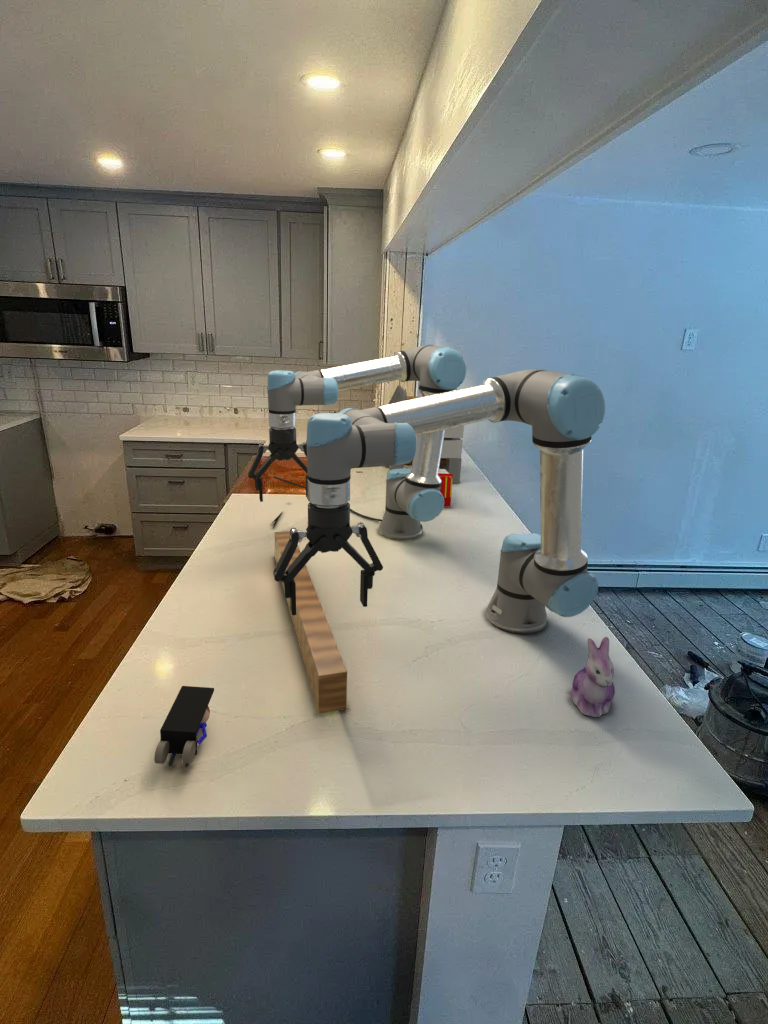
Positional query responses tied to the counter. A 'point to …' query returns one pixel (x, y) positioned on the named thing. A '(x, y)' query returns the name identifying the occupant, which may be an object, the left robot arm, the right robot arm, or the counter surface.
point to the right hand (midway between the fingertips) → (328, 607)
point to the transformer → (450, 443)
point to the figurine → (594, 681)
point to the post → (315, 639)
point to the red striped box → (446, 486)
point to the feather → (276, 520)
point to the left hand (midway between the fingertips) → (284, 498)
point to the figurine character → (184, 725)
